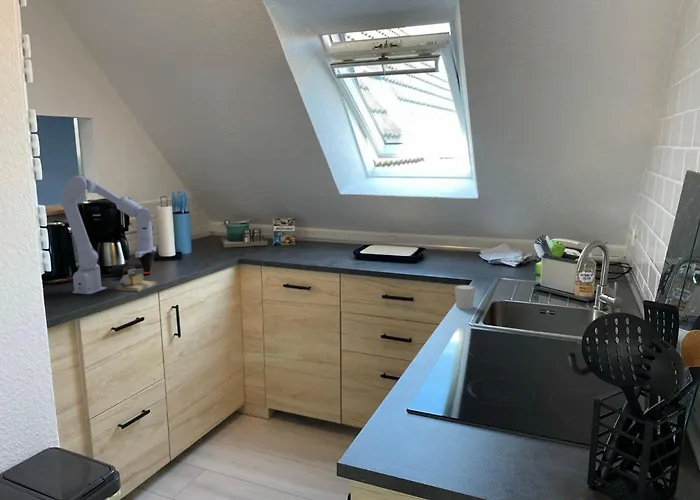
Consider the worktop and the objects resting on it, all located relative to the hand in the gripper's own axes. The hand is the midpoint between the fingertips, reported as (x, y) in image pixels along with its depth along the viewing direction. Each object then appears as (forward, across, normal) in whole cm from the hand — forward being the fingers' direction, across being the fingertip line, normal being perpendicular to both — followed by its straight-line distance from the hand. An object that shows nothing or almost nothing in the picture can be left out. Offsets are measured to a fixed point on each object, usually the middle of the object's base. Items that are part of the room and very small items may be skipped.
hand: (147, 272), depth 216 cm
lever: (+1, 0, +3) cm, 3 cm away
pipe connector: (+6, +15, +14) cm, 22 cm away
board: (+6, -2, +4) cm, 7 cm away
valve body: (+6, -2, +6) cm, 8 cm away
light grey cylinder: (+6, -22, -122) cm, 124 cm away
